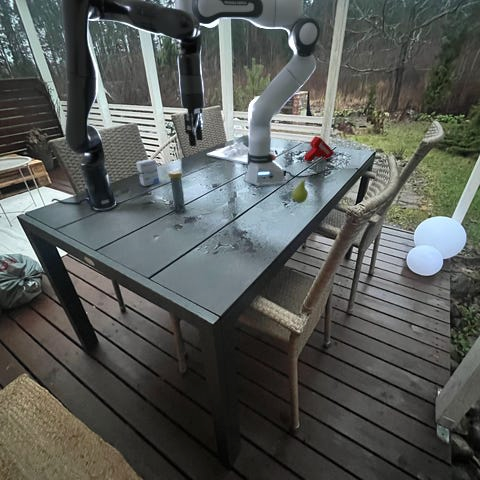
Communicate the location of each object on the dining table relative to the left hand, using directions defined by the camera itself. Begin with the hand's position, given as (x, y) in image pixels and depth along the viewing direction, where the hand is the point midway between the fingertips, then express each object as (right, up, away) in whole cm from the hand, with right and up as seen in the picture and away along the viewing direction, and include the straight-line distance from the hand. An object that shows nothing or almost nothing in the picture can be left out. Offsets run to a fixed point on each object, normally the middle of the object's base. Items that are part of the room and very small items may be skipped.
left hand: (196, 142), depth 97 cm
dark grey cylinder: (-10, -23, +17) cm, 30 cm away
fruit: (+42, -18, +25) cm, 52 cm away
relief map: (+15, +23, +89) cm, 93 cm away
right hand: (-6, +38, +23) cm, 45 cm away
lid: (-10, -9, +8) cm, 15 cm away
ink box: (-32, -5, +45) cm, 55 cm away
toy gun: (+66, +16, +77) cm, 103 cm away
